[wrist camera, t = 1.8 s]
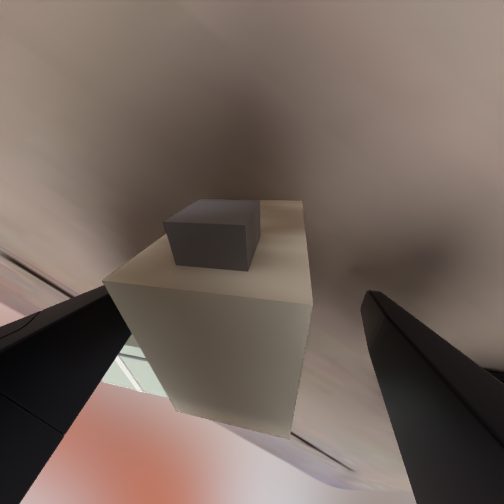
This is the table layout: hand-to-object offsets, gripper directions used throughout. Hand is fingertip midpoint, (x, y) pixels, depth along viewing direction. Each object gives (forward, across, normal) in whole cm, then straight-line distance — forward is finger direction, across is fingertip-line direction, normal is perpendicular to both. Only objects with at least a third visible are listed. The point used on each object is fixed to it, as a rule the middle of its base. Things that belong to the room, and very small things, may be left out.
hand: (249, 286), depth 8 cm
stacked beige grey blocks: (+2, 0, 0) cm, 2 cm away
